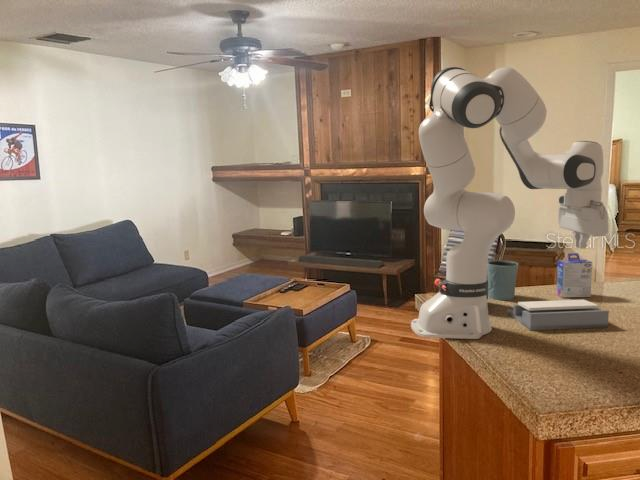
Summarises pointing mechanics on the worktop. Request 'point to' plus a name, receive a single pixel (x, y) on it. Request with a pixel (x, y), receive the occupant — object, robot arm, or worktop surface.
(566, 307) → the cover
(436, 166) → the robot arm
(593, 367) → the worktop surface
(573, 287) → the ink cartridge box
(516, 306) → the grooved grey base
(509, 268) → the teal cup
